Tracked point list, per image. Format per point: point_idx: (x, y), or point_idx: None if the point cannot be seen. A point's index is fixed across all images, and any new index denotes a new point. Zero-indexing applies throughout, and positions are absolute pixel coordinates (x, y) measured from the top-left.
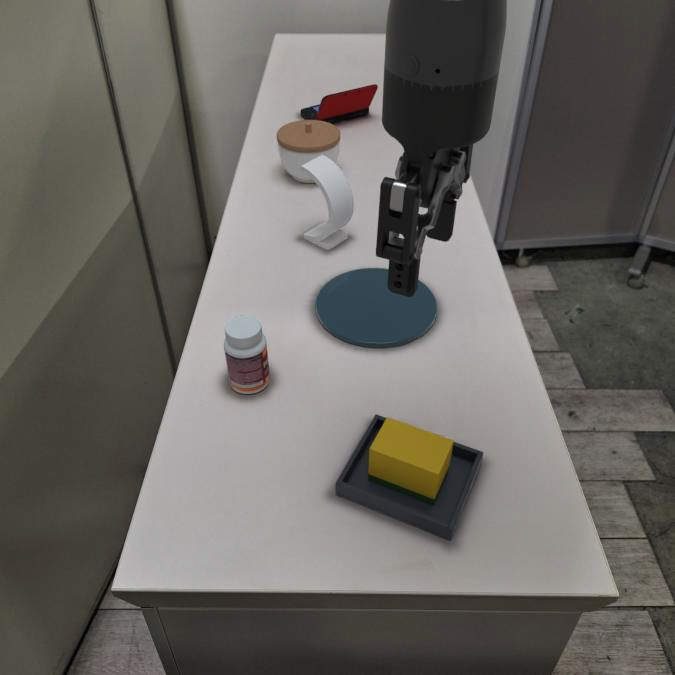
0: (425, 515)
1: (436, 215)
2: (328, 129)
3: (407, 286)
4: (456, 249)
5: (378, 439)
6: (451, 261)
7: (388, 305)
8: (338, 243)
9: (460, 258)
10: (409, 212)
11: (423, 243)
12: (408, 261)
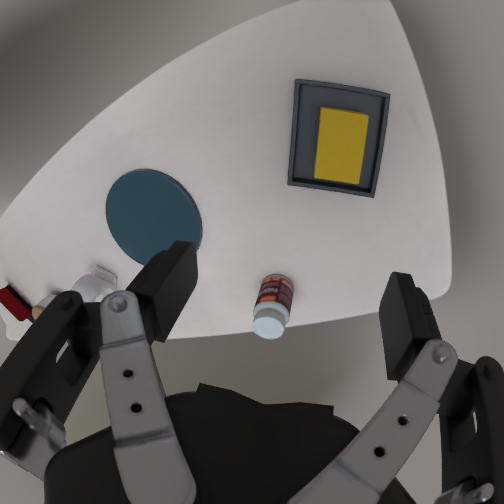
0: (384, 118)
1: (408, 413)
2: (37, 315)
3: (426, 301)
4: (62, 183)
5: (345, 179)
6: (74, 182)
7: (146, 213)
8: (105, 270)
9: (68, 176)
10: None
11: (419, 358)
12: (499, 368)
